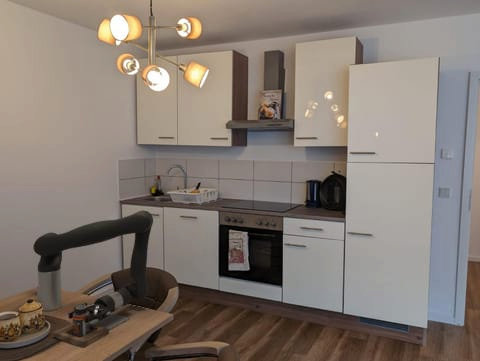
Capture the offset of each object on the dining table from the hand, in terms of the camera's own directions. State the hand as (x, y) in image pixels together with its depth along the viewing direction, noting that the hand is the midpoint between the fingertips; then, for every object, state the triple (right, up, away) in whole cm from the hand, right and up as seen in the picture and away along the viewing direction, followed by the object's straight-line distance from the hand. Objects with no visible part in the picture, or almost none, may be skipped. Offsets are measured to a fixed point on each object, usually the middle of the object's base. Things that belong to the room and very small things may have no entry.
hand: (77, 318), depth 151 cm
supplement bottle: (+1, -8, +2) cm, 8 cm away
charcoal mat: (+7, -6, +15) cm, 18 cm away
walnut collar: (+1, -7, +2) cm, 8 cm away
